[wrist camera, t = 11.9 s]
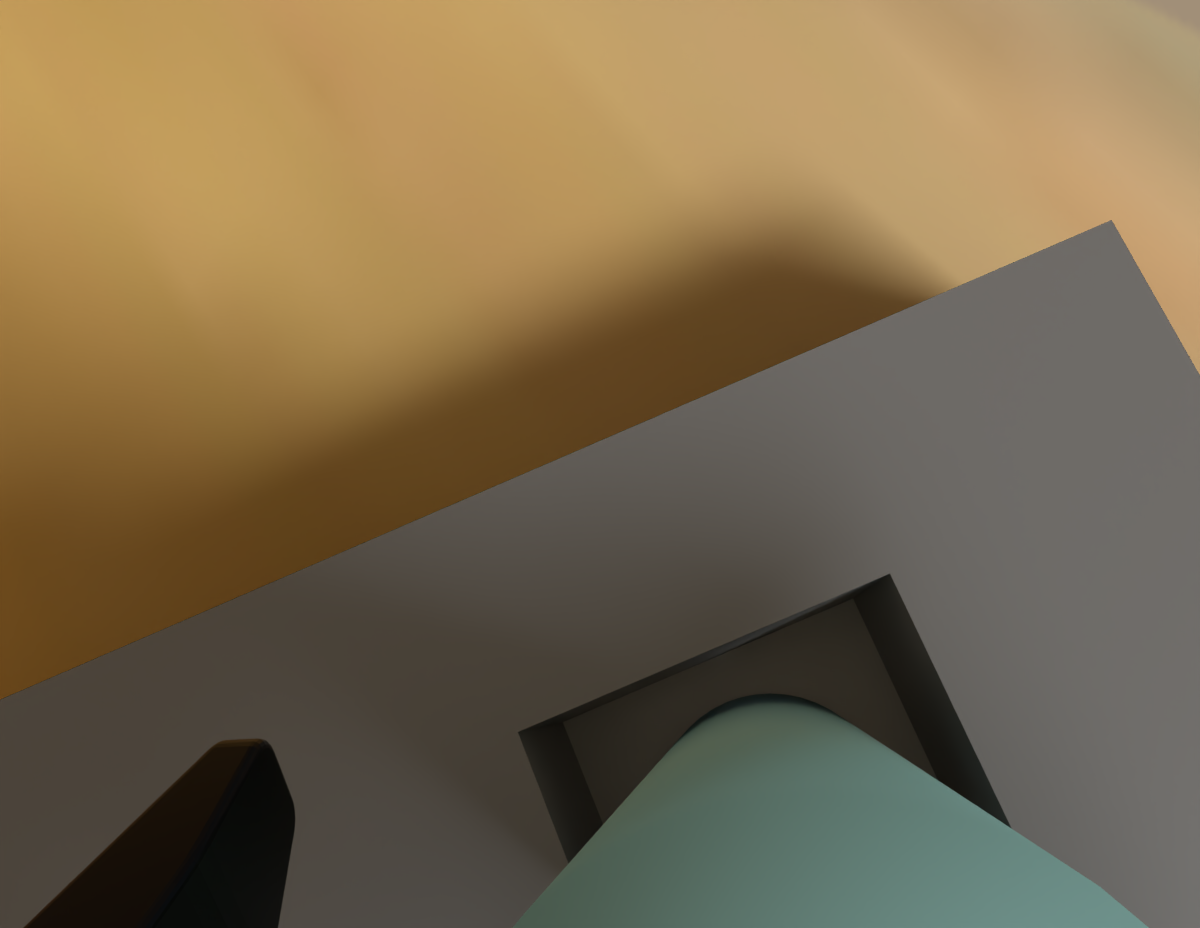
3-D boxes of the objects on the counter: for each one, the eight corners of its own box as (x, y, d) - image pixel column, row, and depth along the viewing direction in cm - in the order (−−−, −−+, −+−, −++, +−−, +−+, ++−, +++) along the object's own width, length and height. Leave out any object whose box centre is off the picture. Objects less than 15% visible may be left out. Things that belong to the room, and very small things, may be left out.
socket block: (1335, 919, 17) (1555, 1003, 12) (105, 1429, 17) (-112, 1689, 13) (1020, 329, 19) (1111, 219, 14) (-62, 794, 19) (-294, 826, 15)
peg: (845, 978, 17) (1151, 2022, 4) (621, 877, 17) (264, 1485, 5) (928, 749, 17) (1453, 1017, 4) (706, 658, 18) (593, 658, 5)
